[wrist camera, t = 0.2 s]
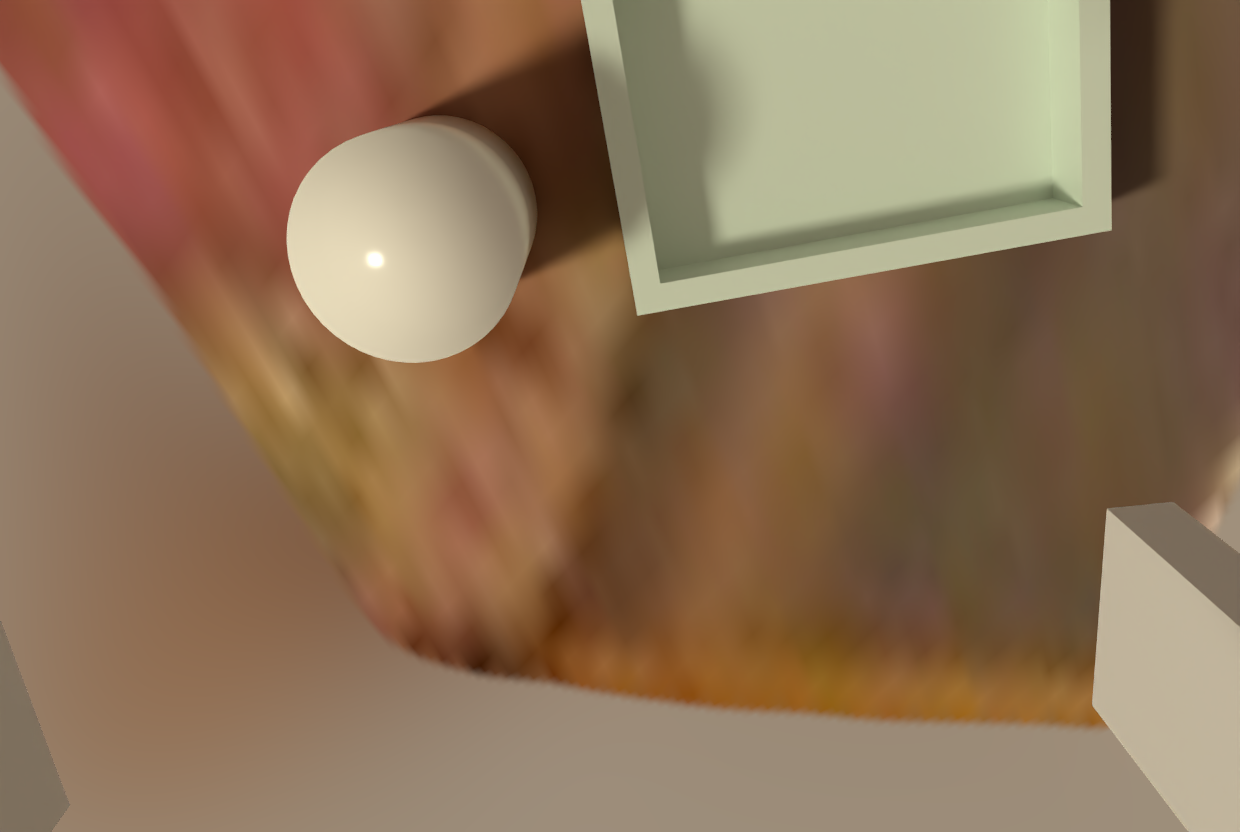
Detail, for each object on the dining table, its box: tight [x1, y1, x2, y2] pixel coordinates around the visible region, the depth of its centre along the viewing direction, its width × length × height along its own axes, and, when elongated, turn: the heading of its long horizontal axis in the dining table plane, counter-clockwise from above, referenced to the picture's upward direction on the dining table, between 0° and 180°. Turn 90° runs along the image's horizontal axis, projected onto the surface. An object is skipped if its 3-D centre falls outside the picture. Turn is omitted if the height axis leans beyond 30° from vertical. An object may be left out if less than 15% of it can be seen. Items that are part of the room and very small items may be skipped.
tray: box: [581, 0, 1112, 316], centre depth 34 cm, size 13×17×3 cm
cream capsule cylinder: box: [287, 115, 537, 363], centre depth 33 cm, size 7×7×8 cm
